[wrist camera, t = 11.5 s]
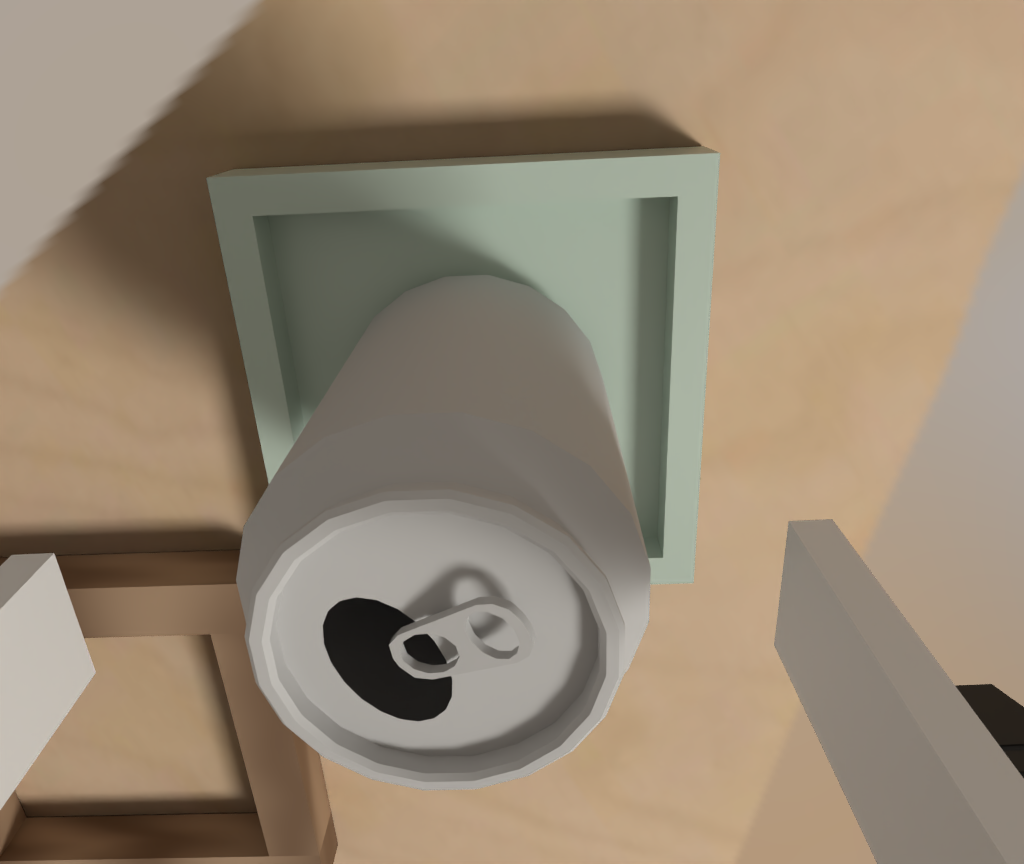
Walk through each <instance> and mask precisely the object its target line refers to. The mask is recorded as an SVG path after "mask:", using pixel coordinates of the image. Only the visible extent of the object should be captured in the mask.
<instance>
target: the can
mask: <svg viewBox="0 0 1024 864" xmlns="http://www.w3.org/2000/svg"><path fill="white" fill-rule="evenodd" d="M650 576H651V567H650V563H649V559H648V555H647V551H646V547H645V543H644V539H643V535H642V531H641V528H640V524H639V520H638V516H637V512H636V508H635V504H634V500H633V496H632V492H631V488H630V484H629V480H628V476H627V472H626V468H625V464H624V460H623V456H622V452H621V448H620V444H619V441H618V437H617V433H616V429H615V425H614V421H613V417H612V413H611V409H610V405H609V401H608V397H607V393H606V389H605V385H604V381H603V377H602V375H601V372H600V369H599V366H598V363H597V360H596V357H595V355H594V352H593V349H592V346H591V343H590V341H589V340H588V338H587V337H586V336H585V335H584V333H583V332H582V331H581V329H580V328H579V327H578V326H577V324H576V323H575V322H574V321H573V319H572V318H571V317H570V316H569V314H568V313H567V312H566V310H565V309H563V308H562V307H560V306H559V305H557V304H556V303H554V302H553V301H551V300H550V299H548V298H547V297H545V296H544V295H542V294H541V293H539V292H537V291H536V290H534V289H533V288H531V287H530V286H527V285H523V284H520V283H516V282H512V281H509V280H505V279H502V278H498V277H494V276H491V275H469V276H445V277H442V278H439V279H437V280H434V281H431V282H429V283H426V284H423V285H421V286H418V287H415V288H413V289H410V290H408V291H405V292H404V293H403V294H401V295H400V296H399V297H398V298H397V299H395V300H394V301H393V302H392V303H390V304H389V305H388V306H387V307H386V308H384V309H383V310H382V311H381V312H380V313H378V314H377V315H376V316H375V317H374V318H373V319H372V321H371V323H370V324H369V326H368V327H367V329H366V331H365V332H364V334H363V335H362V337H361V338H360V340H359V342H358V343H357V345H356V346H355V348H354V350H353V351H352V353H351V354H350V356H349V358H348V359H347V361H346V362H345V364H344V366H343V367H342V369H341V370H340V372H339V373H338V375H337V377H336V378H335V380H334V381H333V383H332V385H331V386H330V388H329V389H328V391H327V393H326V394H325V396H324V397H323V399H322V401H321V402H320V404H319V405H318V407H317V408H316V410H315V412H314V413H313V415H312V416H311V418H310V420H309V421H308V423H307V424H306V426H305V428H304V429H303V431H302V432H301V434H300V436H299V437H298V439H297V440H296V442H295V443H294V445H293V447H292V448H291V450H290V451H289V453H288V455H287V456H286V458H285V459H284V461H283V463H282V464H281V466H280V467H279V469H278V471H277V472H276V474H275V475H274V477H273V479H272V480H271V482H270V484H269V485H268V487H267V489H266V490H265V492H264V494H263V495H262V497H261V499H260V500H259V502H258V504H257V505H256V507H255V509H254V510H253V512H252V514H251V515H250V517H249V519H248V520H247V522H246V524H245V525H244V529H243V536H242V543H241V549H240V556H239V563H238V570H237V576H236V583H237V587H238V591H239V595H240V599H241V604H242V608H243V612H244V616H245V620H246V630H245V636H244V637H245V641H246V645H247V649H248V653H249V657H250V662H251V666H252V670H253V674H254V678H255V682H256V684H257V686H258V687H259V689H260V690H261V692H262V693H263V695H264V696H265V698H266V699H267V701H268V702H269V704H270V705H271V707H272V708H273V710H274V711H275V713H276V714H277V716H278V717H279V719H280V720H281V722H282V723H283V724H284V725H285V726H286V727H287V728H289V729H290V730H291V731H292V732H294V733H295V734H296V735H297V736H298V737H300V738H301V739H302V740H303V741H304V742H306V743H307V744H308V745H309V746H311V747H312V748H313V749H314V750H315V751H317V752H318V753H319V754H320V755H321V756H323V757H324V758H327V759H329V760H331V761H333V762H335V763H337V764H339V765H342V766H344V767H346V768H348V769H350V770H352V771H355V772H357V773H359V774H361V775H363V776H365V777H367V778H370V779H372V780H377V781H381V782H386V783H391V784H396V785H401V786H406V787H410V788H415V789H420V790H462V789H479V788H483V787H487V786H491V785H495V784H498V783H502V782H506V781H510V780H514V779H518V778H522V777H526V776H529V775H531V774H532V773H534V772H536V771H538V770H540V769H541V768H543V767H545V766H547V765H549V764H550V763H552V762H554V761H556V760H558V759H559V758H561V757H563V756H565V755H566V754H568V753H570V752H572V751H573V750H574V749H575V748H576V747H577V746H578V745H579V744H580V743H581V742H582V741H583V740H584V739H585V737H586V736H587V735H588V734H589V733H590V732H591V731H592V730H593V729H594V728H595V727H596V726H597V725H598V724H599V723H600V722H601V721H602V720H603V719H604V718H605V716H606V714H607V712H608V710H609V707H610V705H611V703H612V701H613V698H614V696H615V694H616V691H617V689H618V687H619V684H620V682H621V680H622V677H623V675H624V673H625V672H626V671H627V670H628V669H629V666H630V664H631V662H632V659H633V657H634V655H635V653H636V650H637V648H638V646H639V643H640V641H641V639H642V636H643V634H644V632H645V630H646V627H647V625H648V623H649V605H650Z"/></svg>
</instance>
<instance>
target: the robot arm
mask: <svg viewBox="0 0 1024 864" xmlns="http://www.w3.org/2000/svg"><path fill="white" fill-rule="evenodd" d="M774 646H775V648H776V650H777V652H778V654H779V656H780V658H781V661H782V663H783V665H784V667H785V669H786V671H787V673H788V675H789V677H790V680H791V682H792V684H793V686H794V688H795V690H796V692H797V694H798V697H799V699H800V701H801V703H802V705H803V707H804V709H805V711H806V714H807V716H808V718H809V720H810V722H811V724H812V726H813V728H814V730H815V732H816V735H817V737H818V739H819V741H820V743H821V745H822V748H823V750H824V752H825V754H826V756H827V758H828V760H829V762H830V764H831V767H832V769H833V771H834V773H835V775H836V777H837V779H838V781H839V784H840V786H841V788H842V790H843V792H844V794H845V796H846V798H847V800H848V803H849V805H850V807H851V809H852V811H853V813H854V815H855V817H856V820H857V822H858V824H859V826H860V828H861V830H862V832H863V834H864V836H865V839H866V841H867V843H868V845H869V847H870V849H871V851H872V854H873V855H874V858H875V860H876V862H877V864H1024V707H1023V706H1021V705H1020V704H1019V703H1017V702H1016V701H1014V700H1013V699H1011V698H1010V697H1009V696H1007V695H1006V694H1004V693H1003V692H1002V691H1000V690H999V689H998V688H996V687H995V686H993V685H992V684H985V685H959V686H955V685H954V684H953V682H952V681H951V679H950V678H949V677H948V676H947V674H946V673H945V671H944V670H943V669H942V667H941V666H940V665H939V663H938V662H937V660H936V659H935V658H934V657H933V655H932V654H931V653H930V651H929V650H928V648H927V647H926V646H925V644H924V643H923V642H922V640H921V639H920V638H919V636H918V635H917V633H916V632H915V631H914V629H913V628H912V627H911V625H910V624H909V623H908V621H907V620H906V618H905V617H904V616H903V614H902V613H901V612H900V610H899V609H898V608H897V606H896V605H895V604H894V602H893V601H892V600H891V598H890V597H889V596H888V594H887V593H886V591H885V590H884V589H883V587H882V586H881V585H880V583H879V582H878V581H877V579H876V578H875V577H874V575H873V574H872V572H871V571H870V570H869V568H868V567H867V566H866V564H865V563H864V562H863V560H862V559H861V558H860V556H859V555H858V553H857V552H856V551H855V549H854V548H853V547H852V545H851V544H850V543H849V541H848V540H847V539H846V537H845V536H844V534H843V533H842V532H841V530H840V529H839V528H838V526H837V525H836V524H835V522H834V521H833V520H832V519H827V520H804V521H789V523H788V532H787V540H786V549H785V557H784V566H783V574H782V583H781V591H780V600H779V608H778V617H777V625H776V634H775V642H774ZM95 673H96V672H95V669H94V666H93V663H92V660H91V657H90V654H89V652H88V649H87V646H86V643H85V640H84V637H83V634H82V631H81V629H80V626H79V623H78V620H77V617H76V614H75V611H74V609H73V606H72V603H71V600H70V597H69V594H68V591H67V588H66V586H65V583H64V580H63V577H62V574H61V571H60V568H59V565H58V563H57V560H56V557H55V554H54V553H43V554H20V555H11V556H10V557H9V558H8V559H7V560H6V561H5V562H4V563H3V564H2V565H1V566H0V810H1V809H2V807H3V806H4V804H5V803H6V801H7V800H8V799H9V797H10V796H11V794H12V793H13V791H14V790H15V788H16V787H17V786H18V784H19V783H20V781H21V780H22V778H23V777H24V776H25V774H26V773H27V771H28V770H29V768H30V767H31V765H32V764H33V763H34V761H35V760H36V758H37V757H38V755H39V754H40V752H41V751H42V750H43V748H44V747H45V745H46V744H47V742H48V741H49V739H50V738H51V737H52V735H53V734H54V732H55V731H56V729H57V728H58V727H59V725H60V724H61V722H62V721H63V719H64V718H65V716H66V715H67V714H68V712H69V711H70V709H71V708H72V706H73V705H74V703H75V702H76V701H77V699H78V698H79V696H80V695H81V693H82V692H83V691H84V689H85V688H86V686H87V685H88V683H89V682H90V680H91V679H92V678H93V676H94V675H95Z"/></svg>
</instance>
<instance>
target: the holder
mask: <svg viewBox="0 0 1024 864" xmlns="http://www.w3.org/2000/svg"><path fill="white" fill-rule="evenodd" d="M239 556H240V550H224V551H193V552H162V553H130V554H99V555H67V556H55V557H56V560H57V563H58V565H59V568H60V571H61V574H62V577H63V580H64V583H65V586H66V588H67V591H68V594H69V597H70V600H71V603H72V606H73V609H74V611H75V614H76V617H77V620H78V623H79V626H80V629H81V631H82V634H83V637H84V638H98V637H134V636H169V635H205V634H210V635H211V639H212V642H213V646H214V650H215V654H216V657H217V661H218V665H219V669H220V672H221V676H222V680H223V684H224V688H225V691H226V695H227V699H228V703H229V706H230V710H231V714H232V718H233V722H234V725H235V729H236V733H237V737H238V740H239V744H240V748H241V752H242V755H243V759H244V763H245V767H246V771H247V774H248V778H249V782H250V786H251V789H252V793H253V797H254V801H255V805H256V808H257V812H258V813H233V814H184V815H134V816H84V817H35V818H27V817H26V815H25V813H24V811H23V808H22V806H21V804H20V802H19V800H18V797H17V795H16V793H15V791H13V793H12V794H11V796H10V797H9V799H8V800H7V801H6V803H5V804H4V806H3V807H2V809H1V810H0V864H333V862H334V858H335V854H336V850H337V846H338V843H337V838H336V833H335V828H334V823H333V819H332V814H331V809H330V804H329V799H328V795H327V790H326V785H325V780H324V775H323V771H322V766H321V761H320V756H319V753H318V752H317V751H315V750H314V749H313V748H312V747H311V746H309V745H308V744H307V743H306V742H304V741H303V740H302V739H301V738H300V737H298V736H297V735H296V734H295V733H294V732H292V731H291V730H290V729H289V728H287V727H286V726H285V725H284V724H283V723H282V722H281V720H280V719H279V717H278V716H277V714H276V713H275V711H274V710H273V708H272V707H271V705H270V704H269V702H268V701H267V699H266V698H265V696H264V695H263V693H262V692H261V690H260V689H259V687H258V686H257V684H256V682H255V678H254V674H253V670H252V666H251V662H250V657H249V653H248V649H247V645H246V641H245V637H244V636H245V630H246V620H245V616H244V612H243V608H242V604H241V599H240V595H239V591H238V587H237V583H236V576H237V570H238V563H239ZM8 558H9V557H5V558H0V566H1V565H2V564H3V563H4V562H5V561H6V560H7V559H8Z"/></svg>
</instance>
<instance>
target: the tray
mask: <svg viewBox="0 0 1024 864" xmlns="http://www.w3.org/2000/svg"><path fill="white" fill-rule="evenodd" d="M719 163H720V153H719V152H717V151H714V150H712V149H709V148H707V147H704V146H697V147H676V148H656V149H636V150H615V151H595V152H574V153H554V154H533V155H513V156H492V157H472V158H451V159H431V160H410V161H390V162H369V163H349V164H329V165H308V166H288V167H267V168H247V169H232V170H229V171H226V172H223V173H220V174H217V175H214V176H210V177H207V178H206V179H207V184H208V189H209V194H210V199H211V204H212V209H213V214H214V218H215V223H216V228H217V233H218V238H219V243H220V248H221V253H222V258H223V262H224V267H225V272H226V277H227V282H228V287H229V292H230V297H231V302H232V306H233V311H234V316H235V321H236V326H237V331H238V336H239V341H240V346H241V351H242V355H243V360H244V365H245V370H246V375H247V380H248V385H249V390H250V395H251V399H252V404H253V409H254V414H255V419H256V424H257V429H258V434H259V439H260V444H261V448H262V453H263V458H264V463H265V468H266V473H267V478H268V483H269V484H270V482H271V480H272V479H273V477H274V475H275V474H276V472H277V471H278V469H279V467H280V466H281V464H282V463H283V461H284V459H285V458H286V456H287V455H288V453H289V451H290V450H291V448H292V447H293V445H294V443H295V442H296V440H297V439H298V437H299V436H300V434H301V432H302V431H303V429H304V428H305V426H306V424H307V423H308V421H309V420H310V418H311V416H312V415H313V413H314V412H315V410H316V408H317V407H318V405H319V404H320V402H321V401H322V399H323V397H324V396H325V394H326V393H327V391H328V389H329V388H330V386H331V385H332V383H333V381H334V380H335V378H336V377H337V375H338V373H339V372H340V370H341V369H342V367H343V366H344V364H345V362H346V361H347V359H348V358H349V356H350V354H351V353H352V351H353V350H354V348H355V346H356V345H357V343H358V342H359V340H360V338H361V337H362V335H363V334H364V332H365V331H366V329H367V327H368V326H369V324H370V323H371V321H372V319H373V318H374V317H375V316H376V315H377V314H378V313H380V312H381V311H382V310H383V309H384V308H386V307H387V306H388V305H389V304H390V303H392V302H393V301H394V300H395V299H397V298H398V297H399V296H400V295H401V294H403V293H404V292H405V291H408V290H410V289H413V288H415V287H418V286H421V285H423V284H426V283H429V282H431V281H434V280H437V279H439V278H442V277H445V276H469V275H491V276H494V277H498V278H502V279H505V280H509V281H512V282H516V283H520V284H523V285H527V286H530V287H531V288H533V289H534V290H536V291H537V292H539V293H541V294H542V295H544V296H545V297H547V298H548V299H550V300H551V301H553V302H554V303H556V304H557V305H559V306H560V307H562V308H563V309H565V310H566V312H567V313H568V314H569V316H570V317H571V318H572V319H573V321H574V322H575V323H576V324H577V326H578V327H579V328H580V329H581V331H582V332H583V333H584V335H585V336H586V337H587V338H588V340H589V341H590V343H591V346H592V349H593V352H594V355H595V357H596V360H597V363H598V366H599V369H600V372H601V375H602V377H603V381H604V385H605V389H606V393H607V397H608V401H609V405H610V409H611V413H612V417H613V421H614V425H615V429H616V433H617V437H618V441H619V444H620V448H621V452H622V456H623V460H624V464H625V468H626V472H627V476H628V480H629V484H630V488H631V492H632V496H633V500H634V504H635V508H636V512H637V516H638V520H639V524H640V528H641V531H642V535H643V539H644V543H645V547H646V551H647V555H648V559H649V563H650V567H651V576H650V584H680V583H694V567H695V551H696V534H697V518H698V502H699V486H700V470H701V454H702V438H703V421H704V405H705V389H706V373H707V357H708V341H709V324H710V308H711V292H712V276H713V260H714V244H715V227H716V211H717V195H718V179H719Z"/></svg>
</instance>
